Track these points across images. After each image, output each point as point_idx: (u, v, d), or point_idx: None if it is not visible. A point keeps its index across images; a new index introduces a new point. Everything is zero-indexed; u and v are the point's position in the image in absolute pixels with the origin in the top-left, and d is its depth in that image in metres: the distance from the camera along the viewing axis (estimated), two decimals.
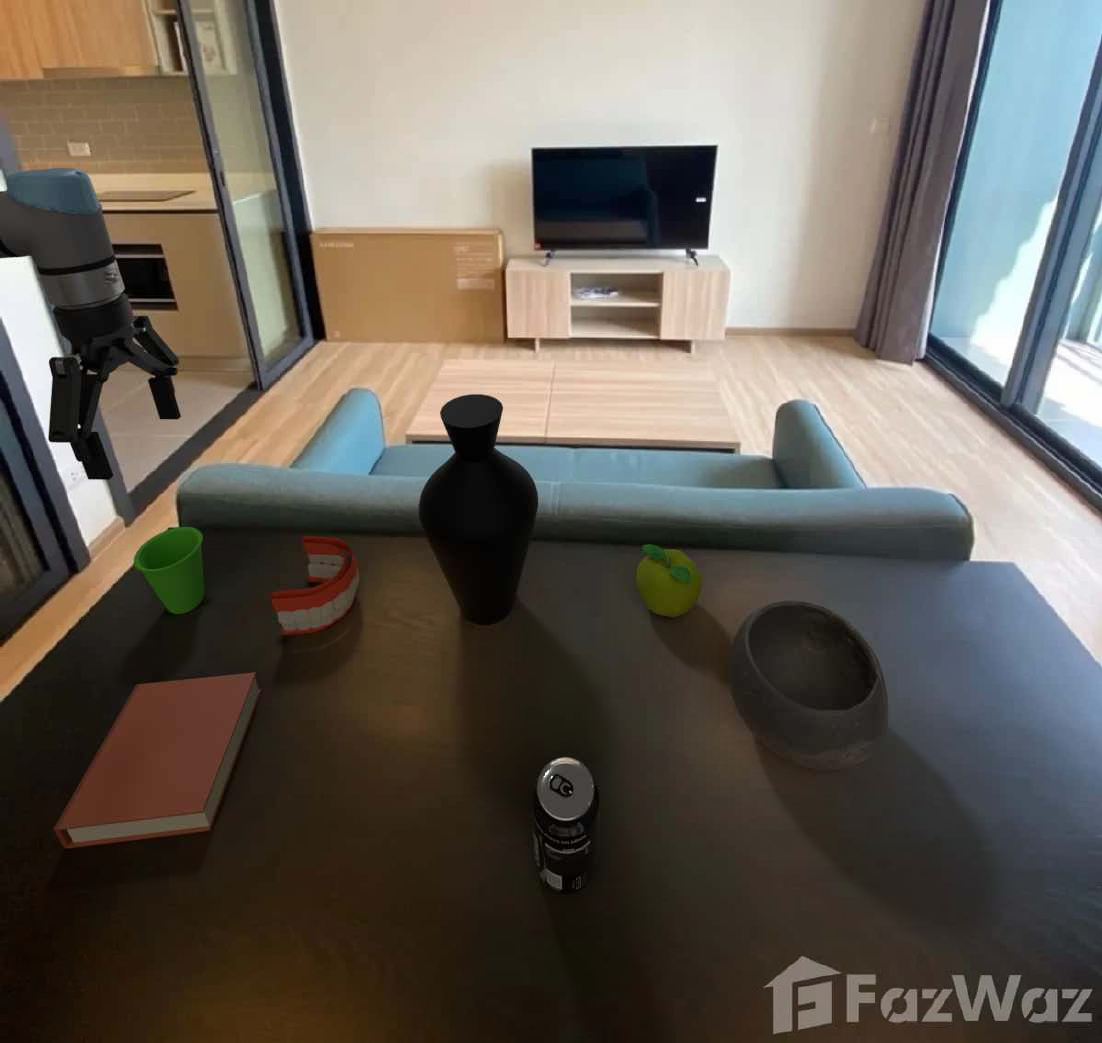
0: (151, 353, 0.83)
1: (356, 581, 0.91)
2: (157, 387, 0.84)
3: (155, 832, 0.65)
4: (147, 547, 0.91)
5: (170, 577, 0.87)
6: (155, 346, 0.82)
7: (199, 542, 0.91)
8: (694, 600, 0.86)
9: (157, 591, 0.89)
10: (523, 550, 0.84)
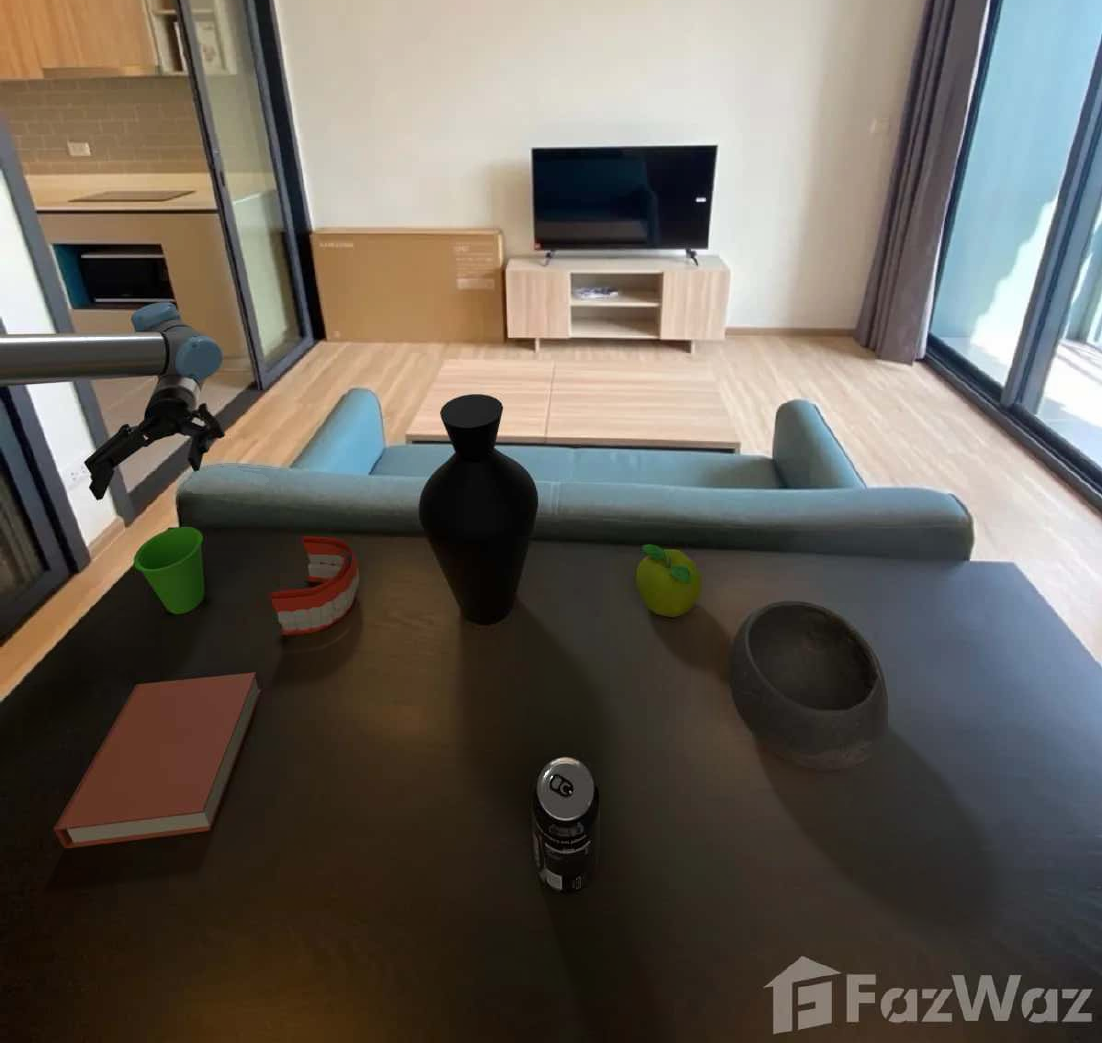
0: (105, 451, 0.97)
1: (356, 581, 0.91)
2: (107, 469, 0.94)
3: (155, 832, 0.65)
4: (147, 547, 0.91)
5: (170, 577, 0.87)
6: None
7: (199, 542, 0.91)
8: (694, 600, 0.86)
9: (157, 591, 0.89)
10: (523, 550, 0.84)
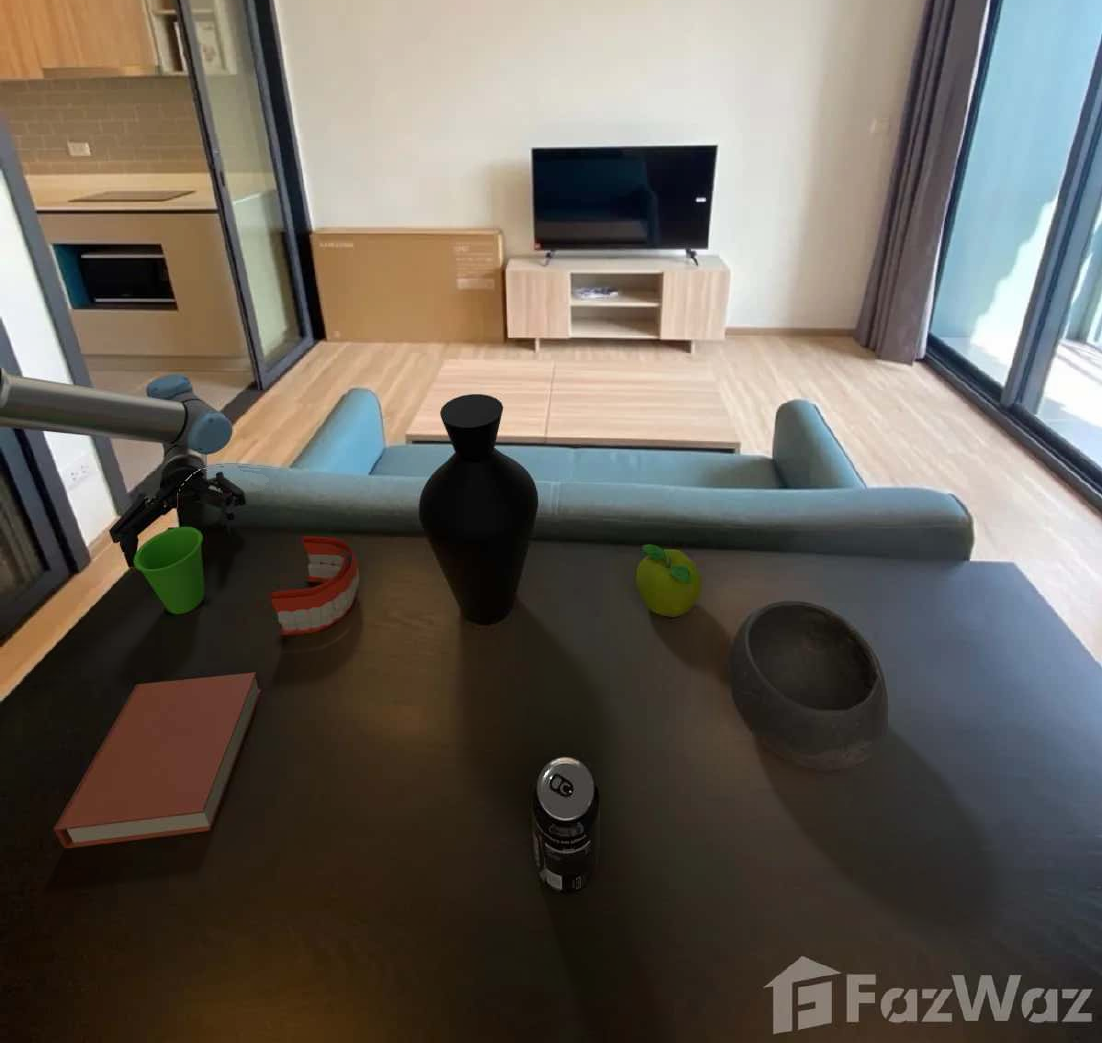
0: (128, 519, 1.01)
1: (356, 581, 0.91)
2: (135, 537, 0.98)
3: (155, 832, 0.65)
4: (147, 547, 0.91)
5: (170, 577, 0.87)
6: None
7: (199, 542, 0.91)
8: (694, 600, 0.86)
9: (157, 591, 0.89)
10: (523, 550, 0.84)
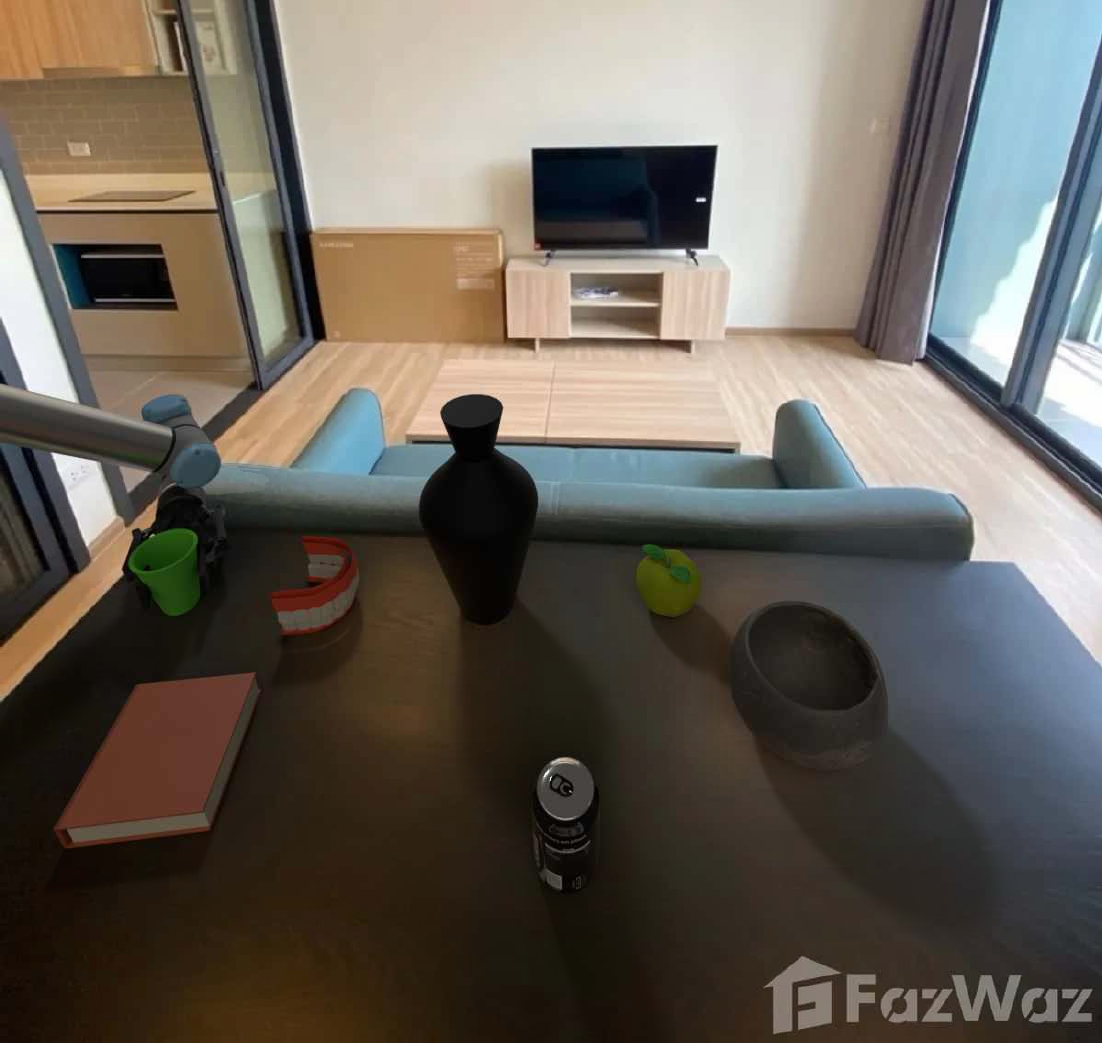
0: None
1: (356, 581, 0.91)
2: None
3: (155, 832, 0.65)
4: (143, 548, 0.90)
5: (164, 579, 0.87)
6: None
7: (194, 545, 0.90)
8: (694, 600, 0.86)
9: (151, 593, 0.89)
10: (523, 550, 0.84)
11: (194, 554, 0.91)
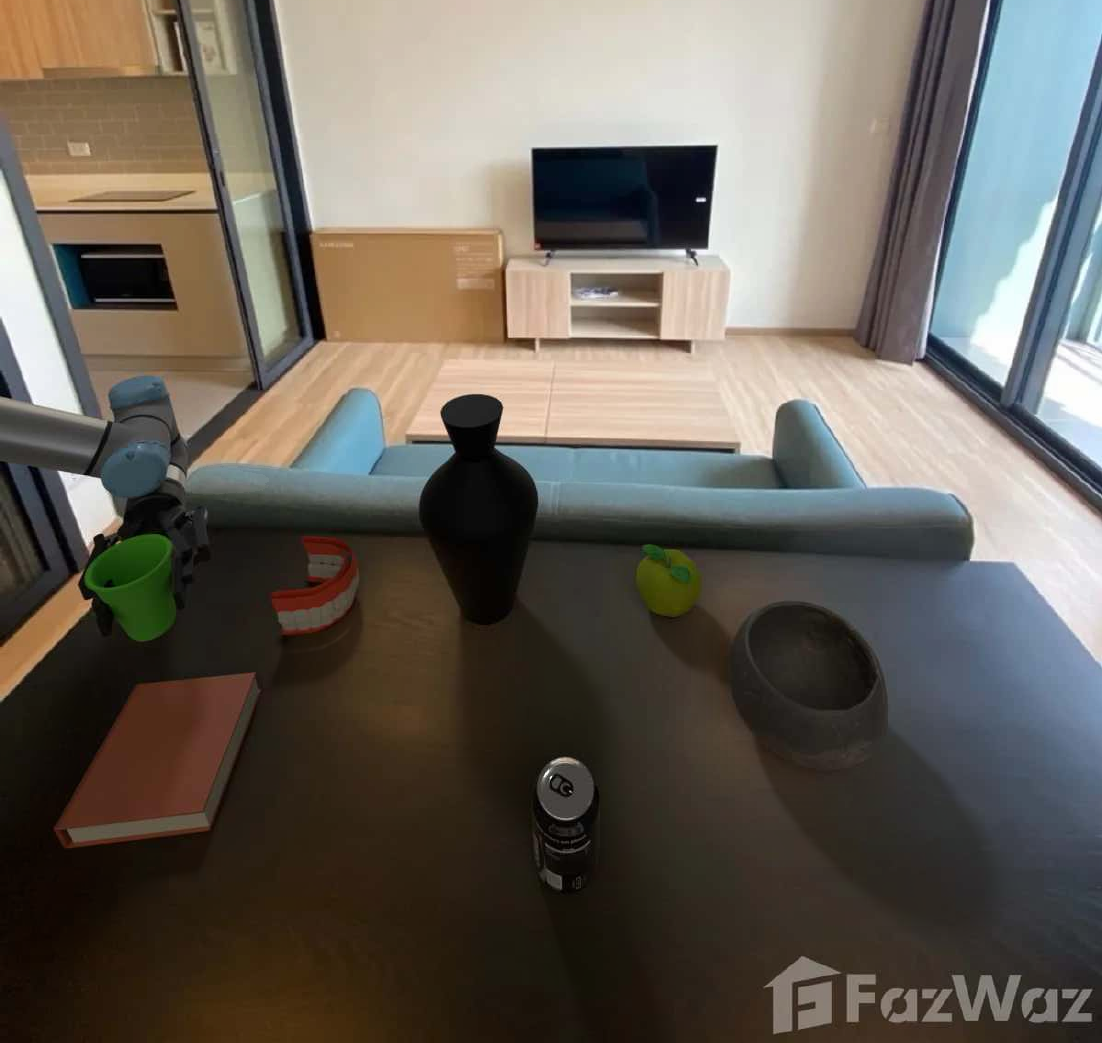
0: None
1: (356, 581, 0.91)
2: None
3: (155, 832, 0.65)
4: (105, 559, 0.74)
5: (128, 598, 0.70)
6: None
7: (167, 554, 0.73)
8: (694, 600, 0.86)
9: (114, 614, 0.72)
10: (523, 550, 0.84)
11: (167, 566, 0.74)
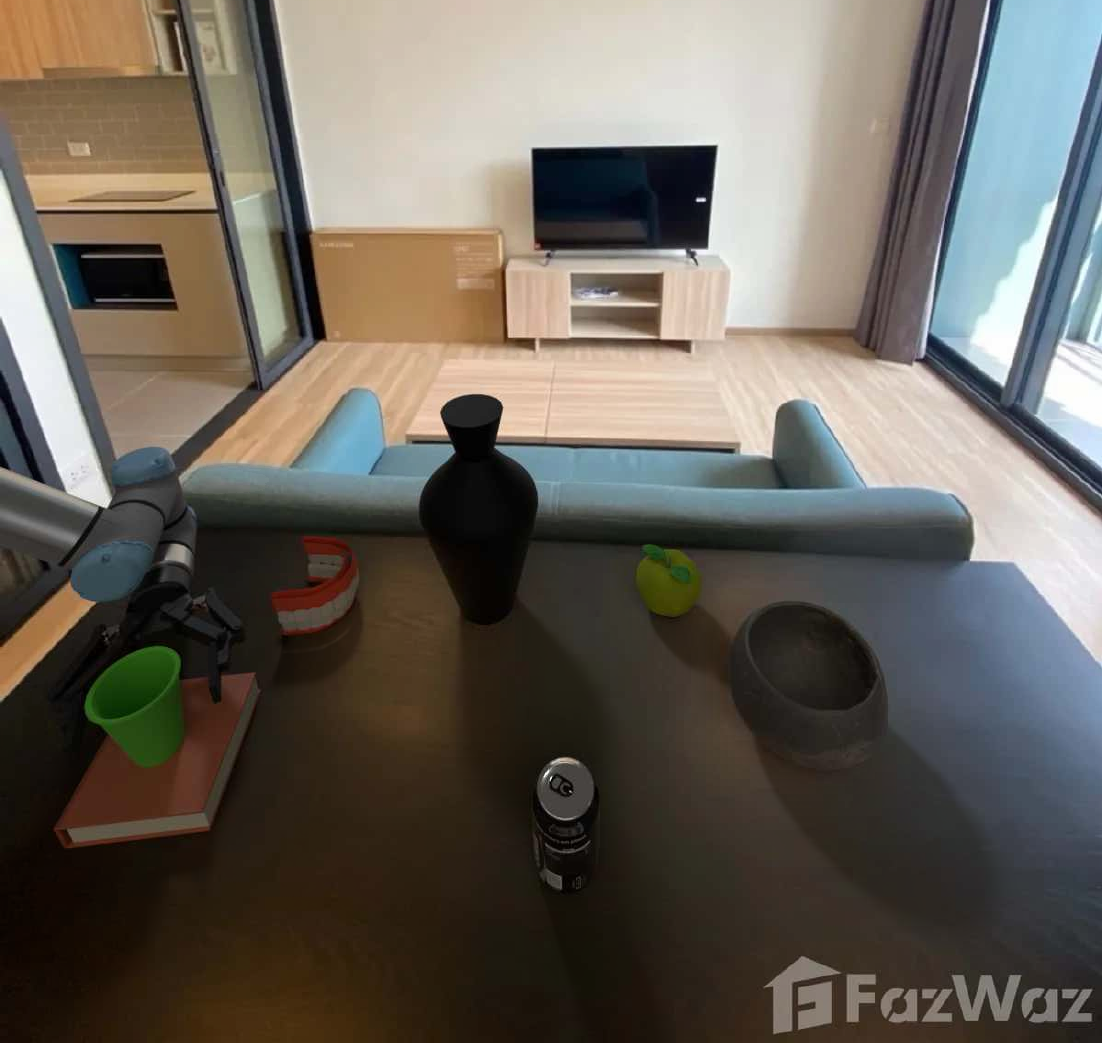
0: (76, 674, 0.70)
1: (356, 581, 0.91)
2: (83, 706, 0.67)
3: (155, 832, 0.65)
4: (107, 678, 0.67)
5: (133, 728, 0.64)
6: None
7: (175, 674, 0.67)
8: (694, 600, 0.86)
9: (117, 742, 0.65)
10: (523, 550, 0.84)
11: (175, 686, 0.67)
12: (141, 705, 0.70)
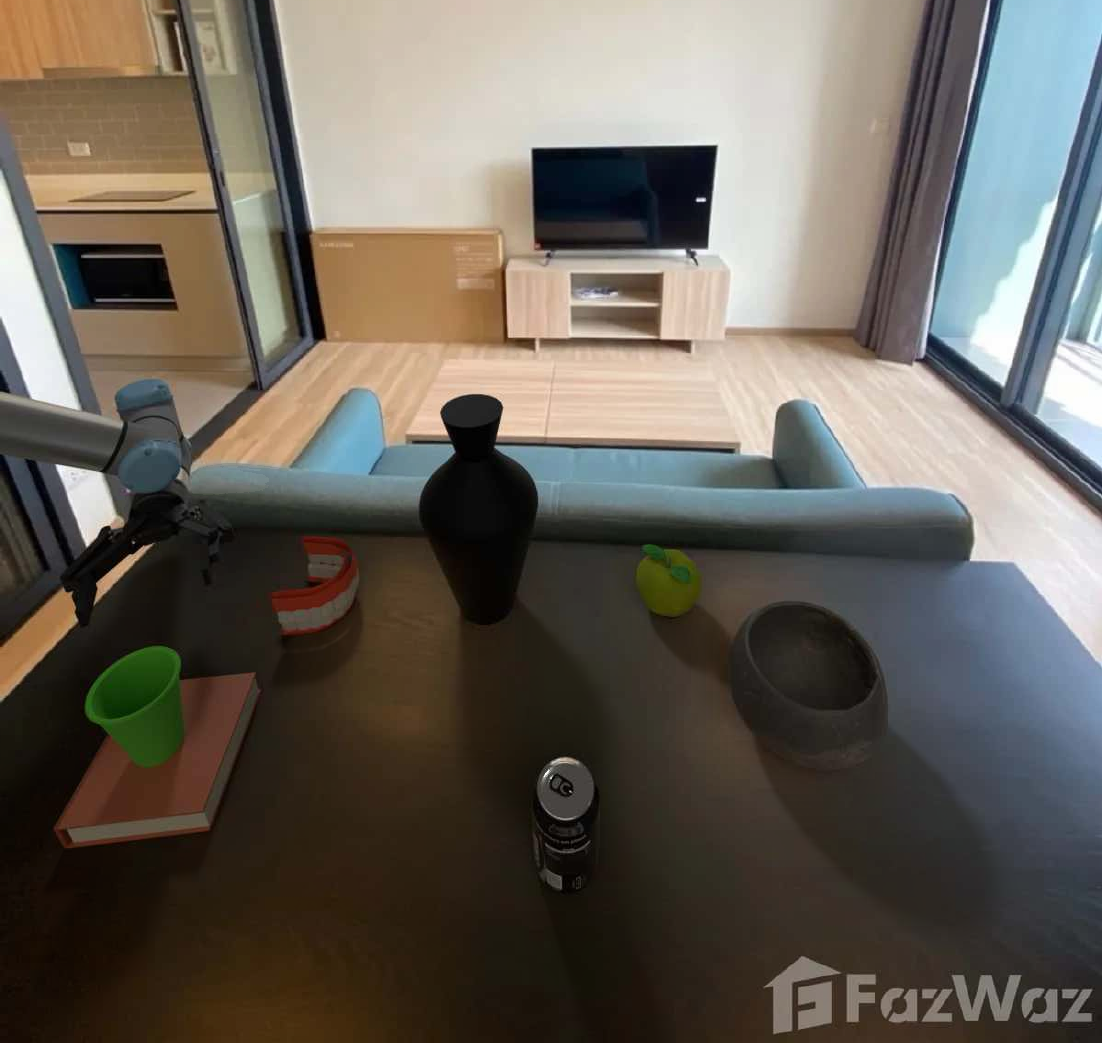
0: (85, 562, 0.80)
1: (356, 581, 0.91)
2: (92, 585, 0.77)
3: (155, 832, 0.65)
4: (107, 678, 0.67)
5: (133, 728, 0.64)
6: None
7: (175, 674, 0.67)
8: (694, 600, 0.86)
9: (117, 742, 0.65)
10: (523, 550, 0.84)
11: (176, 686, 0.67)
12: (141, 705, 0.70)
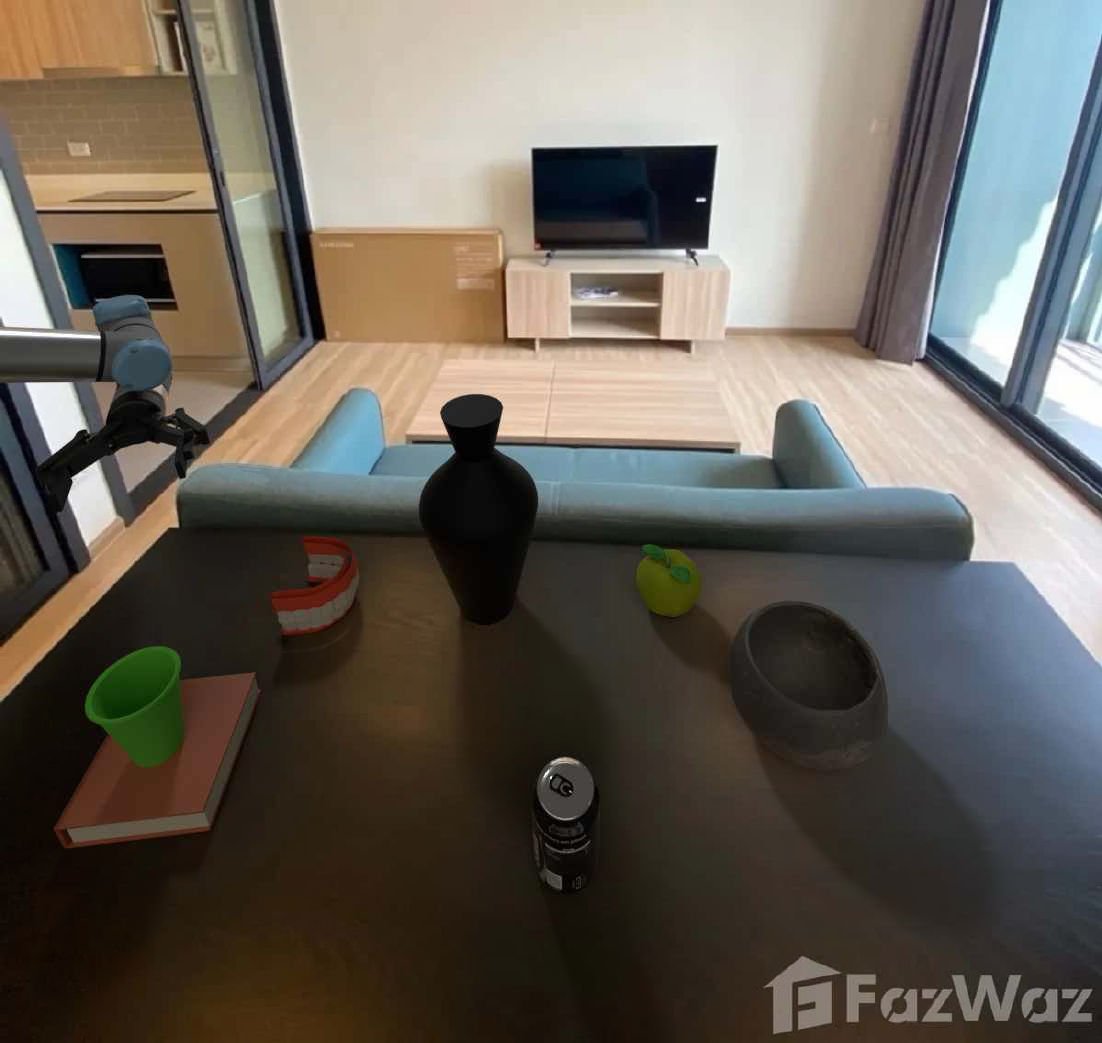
0: (61, 458, 0.82)
1: (356, 581, 0.91)
2: (67, 477, 0.78)
3: (155, 832, 0.65)
4: (107, 678, 0.67)
5: (133, 728, 0.64)
6: None
7: (175, 674, 0.67)
8: (694, 600, 0.86)
9: (117, 742, 0.65)
10: (523, 550, 0.84)
11: (176, 686, 0.67)
12: (141, 705, 0.70)
